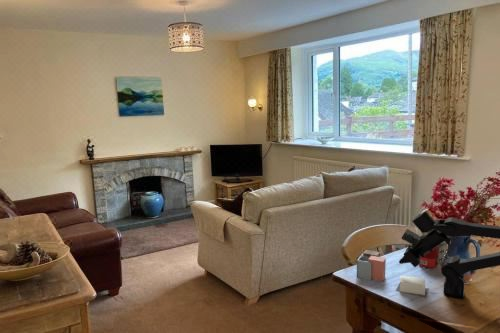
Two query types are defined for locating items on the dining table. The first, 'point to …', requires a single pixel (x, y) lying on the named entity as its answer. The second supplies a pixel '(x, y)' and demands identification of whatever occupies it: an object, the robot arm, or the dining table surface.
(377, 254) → the walnut plug
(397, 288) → the rubber mat
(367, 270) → the socket block
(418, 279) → the cream rectangular block
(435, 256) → the canned food
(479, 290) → the dining table surface
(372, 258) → the salmon pink block
